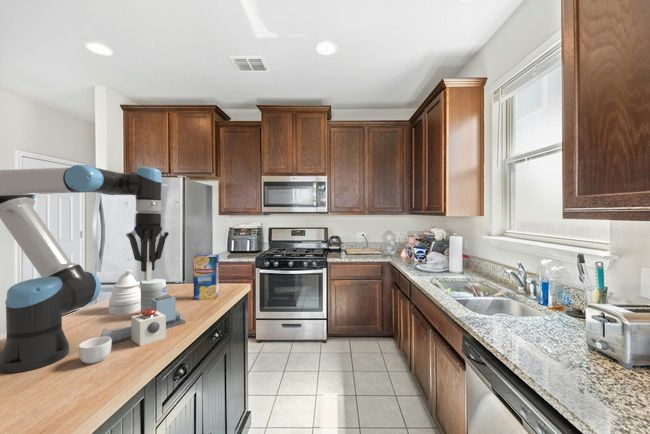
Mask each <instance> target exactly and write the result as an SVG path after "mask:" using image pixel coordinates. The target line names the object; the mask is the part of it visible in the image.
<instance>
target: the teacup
mask: <svg viewBox="0 0 650 434" xmlns="http://www.w3.org/2000/svg"><path fill="white" fill-rule="evenodd" d="M112 345H113V344H112V339H111V338H110V337H101V336H97V337H92V338H90V339H87V340H84V341H82V342H80V343H79V345H78V357H79V358H80V361H81V362H83V363H85V364H89V365H90V364H91V365H92V364H96V363H99V362H103V360H105V359H106V358H107V357H108V356H109V354H110V353H111V351H112V350H111V349H112Z"/></svg>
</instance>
